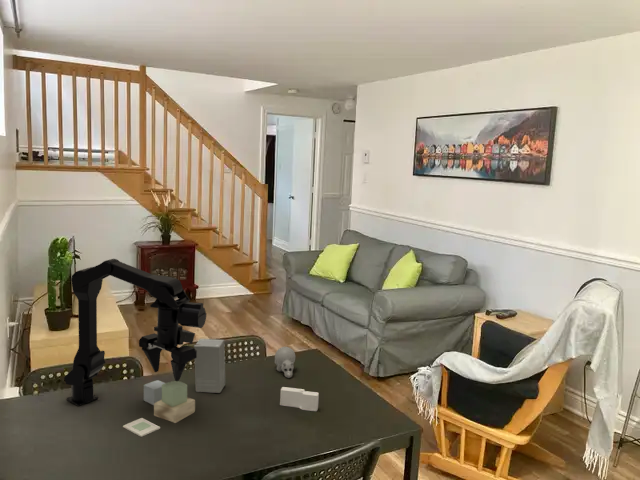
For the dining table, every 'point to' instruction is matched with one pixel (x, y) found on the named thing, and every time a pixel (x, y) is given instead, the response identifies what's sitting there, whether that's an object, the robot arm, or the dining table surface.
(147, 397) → the blue-grey cube
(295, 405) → the white stepped block
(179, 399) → the sage cube
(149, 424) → the card
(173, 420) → the birch block
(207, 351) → the skincare box
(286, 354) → the round bodied animal figurine
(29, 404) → the dining table surface
